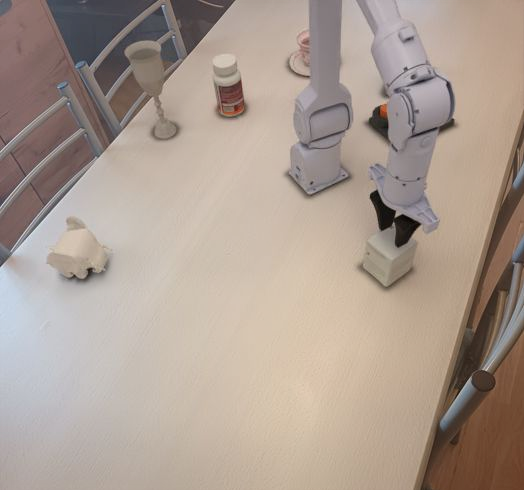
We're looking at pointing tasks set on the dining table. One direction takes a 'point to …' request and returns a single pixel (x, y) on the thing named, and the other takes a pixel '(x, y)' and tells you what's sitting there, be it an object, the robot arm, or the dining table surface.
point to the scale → (383, 124)
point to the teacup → (302, 54)
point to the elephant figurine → (77, 251)
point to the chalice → (150, 79)
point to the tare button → (383, 111)
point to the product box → (388, 256)
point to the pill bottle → (228, 85)
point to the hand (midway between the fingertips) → (393, 235)
